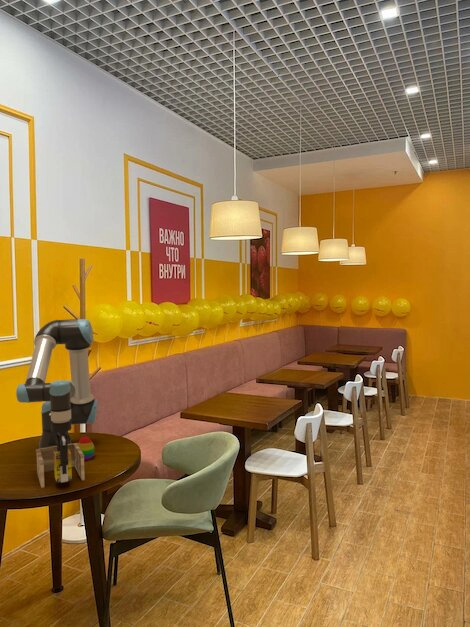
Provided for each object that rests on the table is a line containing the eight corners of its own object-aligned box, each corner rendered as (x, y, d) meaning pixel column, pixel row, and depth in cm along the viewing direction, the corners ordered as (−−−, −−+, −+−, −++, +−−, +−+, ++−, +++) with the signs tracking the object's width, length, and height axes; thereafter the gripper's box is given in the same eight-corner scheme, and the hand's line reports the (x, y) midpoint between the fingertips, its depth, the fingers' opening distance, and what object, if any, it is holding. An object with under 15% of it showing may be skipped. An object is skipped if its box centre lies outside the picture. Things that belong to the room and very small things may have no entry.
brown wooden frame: (36, 472, 205) (35, 449, 204) (77, 465, 212) (76, 442, 212) (40, 488, 188) (39, 462, 187) (85, 479, 195) (84, 455, 195)
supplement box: (56, 483, 186) (55, 455, 186) (54, 478, 191) (53, 451, 191) (72, 480, 189) (71, 453, 188) (70, 475, 194) (69, 448, 194)
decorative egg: (82, 462, 215) (81, 440, 215) (72, 459, 221) (71, 437, 220) (98, 457, 221) (97, 436, 221) (88, 454, 227) (87, 433, 226)
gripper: (48, 416, 196) (50, 472, 197) (53, 427, 179) (56, 489, 180) (67, 414, 199) (69, 469, 200) (74, 424, 182) (76, 485, 183)
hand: (63, 478), depth 190 cm, fingers closed on supplement box, 6 cm apart
